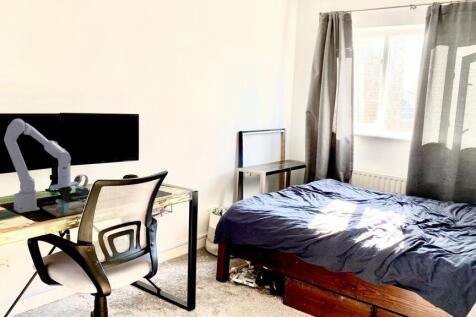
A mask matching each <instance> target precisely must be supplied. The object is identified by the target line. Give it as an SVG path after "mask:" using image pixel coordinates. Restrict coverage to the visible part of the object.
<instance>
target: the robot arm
mask: <svg viewBox="0 0 476 317" xmlns="http://www.w3.org/2000/svg"><path fill="white" fill-rule="evenodd" d="M21 134H24V135H26V136H27V135H28V136H31V138H33V139H35V140H37V142H38V143H40V144H42V145H43V147H44V150H45V151H46V153H49V155H51V156H52V157H53V158H55V159H57V161H58V167H57V172H58V174H57V177H58V178H57V179H58V183H57V184H52V185H50V186H49V190H50V191H55V190H57V191H58V192H59V195H60V197H61V199H62V200H64V201H66V202H68V199H69V196H70V194H71V191H73V188H72V187H76V186H79V185H78V182H74V181H72V180H71V178H72V176H71V173H72V172H71V160H72V157H71V155H70V153H69V152H68V151H67V150H66V149H65V148H63V147H61V146H60V145H59V144H58V142H57V141H54V140H49V139H47V138H46V137H45V136H44V135H43V134H42V133H40V132H39V131H38V130H37V129H36V128H35V127H33V126H32V125H30V124H29V123H27V122H25V121H24V120H23V119H22V118H15V119H13V120H12V121H11V122H10V123H9V124H8V126H7V128H6V132H5V135H4V138H3V140H4V144H5V146H6V148H7V151H8V154H9V156H10V158H11V162H12V164H13V166H14V169H15V171H16V175H17V176H18V180H19V188H20V189H19V192H17V193H14V195H13V210H14V211H15V212H17V213H19V214H21V213H27V212H32V211H39V210H41V208H40V207H38V206H37V190H36V189H35V187H36V186H35V184H36V181H35V179H34V178H33V177H32V176H31V174H30V172H29V170H28V167H27V165H26V163H25V160H24V157H23V156H22V153H21V150H20V147H19V145H18V142H17V140H18V138H19V136H20V135H21Z"/></svg>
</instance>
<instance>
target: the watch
mask: <svg viewBox="0 0 476 317" xmlns="http://www.w3.org/2000/svg"><path fill="white" fill-rule="evenodd" d="M83 177H84V179H85V180H84V182H83ZM73 182H78V186H75V189H74V190H75V194H76V195H79V196H80V195H81V196H85V195H88V194H89V188H88V187H87V186H88V185H89V184H88V183H89V177H88V176H87V175H86V174H82V173H80V174H78V175H76V176H75V177H74V179H73ZM82 182H83V185H82V186H79V185H80V183H82Z"/></svg>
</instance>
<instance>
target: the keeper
mask: <svg viewBox="0 0 476 317" xmlns="http://www.w3.org/2000/svg"><path fill="white" fill-rule="evenodd" d="M55 203H57V204H60V205H62V212H63V213H68V212H69V202H68V201H67V202H66V201H64V200H62V198H59V199H58V198H57V199H55Z"/></svg>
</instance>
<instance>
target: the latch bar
mask: <svg viewBox="0 0 476 317" xmlns="http://www.w3.org/2000/svg"><path fill="white" fill-rule="evenodd" d="M81 200H82V201H81ZM81 200H78V201H79V202H75V201H73V202H74V203H69V202H68V203H69V209H73V208H78V207H83V206H84V205H85V202H86V201H87V199H86V198H82V199H81ZM56 210H57V211H62V205H59V206H56Z"/></svg>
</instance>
